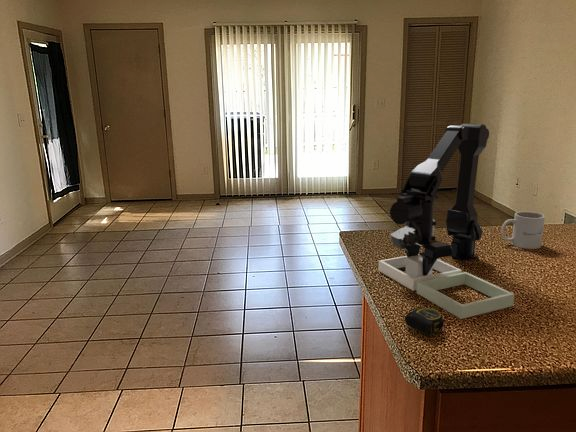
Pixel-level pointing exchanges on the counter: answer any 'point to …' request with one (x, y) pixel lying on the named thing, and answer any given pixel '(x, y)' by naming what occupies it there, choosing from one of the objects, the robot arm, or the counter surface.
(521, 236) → the mug
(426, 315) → the tape measure
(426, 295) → the bin
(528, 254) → the counter surface
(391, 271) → the bin
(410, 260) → the stone cube
